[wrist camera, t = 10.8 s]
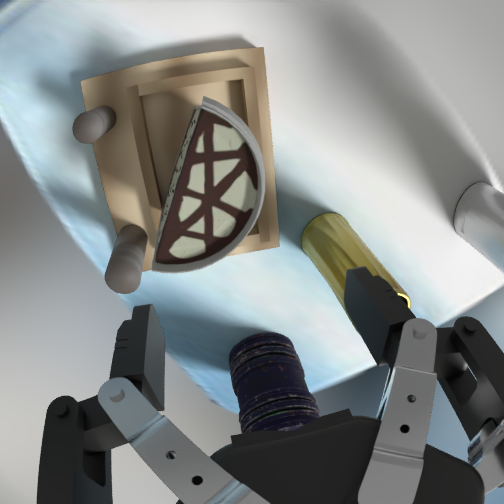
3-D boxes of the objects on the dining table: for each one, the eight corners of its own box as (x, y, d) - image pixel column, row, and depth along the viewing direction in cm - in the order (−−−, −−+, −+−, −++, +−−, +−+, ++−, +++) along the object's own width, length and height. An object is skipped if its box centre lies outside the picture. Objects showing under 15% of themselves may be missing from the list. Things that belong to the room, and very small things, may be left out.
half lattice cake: (219, 232, 32) (233, 295, 24) (158, 217, 30) (150, 277, 22) (265, 113, 27) (302, 132, 19) (199, 90, 25) (205, 97, 16)
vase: (305, 265, 39) (354, 352, 27) (296, 221, 35) (351, 304, 23) (351, 249, 39) (412, 327, 27) (346, 205, 36) (418, 277, 24)
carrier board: (258, 49, 25) (286, 39, 18) (275, 237, 36) (299, 286, 28) (86, 80, 24) (49, 84, 16) (132, 263, 34) (121, 318, 27)
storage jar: (219, 373, 46) (234, 462, 34) (240, 327, 42) (264, 425, 29) (278, 378, 49) (304, 458, 37) (305, 336, 45) (342, 422, 33)
